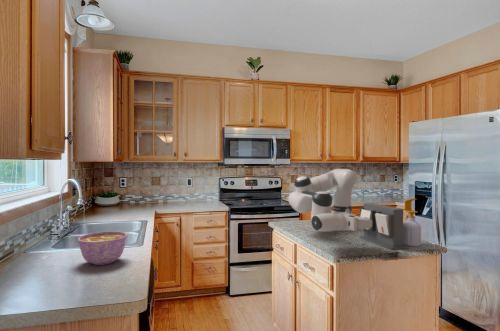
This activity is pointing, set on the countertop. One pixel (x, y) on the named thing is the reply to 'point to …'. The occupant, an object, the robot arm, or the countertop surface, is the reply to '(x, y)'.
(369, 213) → the block
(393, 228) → the power panel
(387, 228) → the block
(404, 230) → the soap bottle
